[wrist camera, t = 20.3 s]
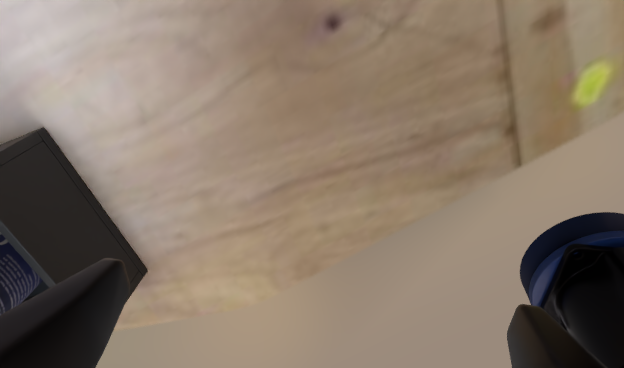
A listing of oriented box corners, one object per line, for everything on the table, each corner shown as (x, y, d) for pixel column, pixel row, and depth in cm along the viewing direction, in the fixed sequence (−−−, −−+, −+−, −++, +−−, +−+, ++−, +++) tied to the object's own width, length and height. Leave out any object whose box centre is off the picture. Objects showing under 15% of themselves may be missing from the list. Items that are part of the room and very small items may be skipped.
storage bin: (148, 270, 28) (102, 337, 23) (29, 298, 31) (-32, 362, 27) (44, 127, 23) (-41, 174, 19) (-84, 177, 26) (-184, 228, 22)
